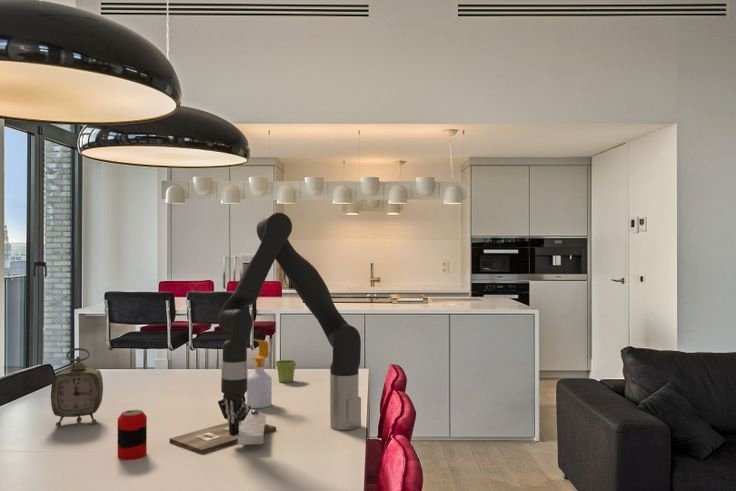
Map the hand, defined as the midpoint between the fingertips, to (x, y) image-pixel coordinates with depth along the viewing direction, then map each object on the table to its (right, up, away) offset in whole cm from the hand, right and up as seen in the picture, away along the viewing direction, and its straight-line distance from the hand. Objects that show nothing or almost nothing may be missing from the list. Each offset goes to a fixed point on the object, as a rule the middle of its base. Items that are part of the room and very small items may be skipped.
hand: (233, 434), depth 175 cm
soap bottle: (-1, -4, +45) cm, 45 cm away
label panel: (-5, -3, +9) cm, 10 cm away
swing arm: (+4, -1, +7) cm, 8 cm away
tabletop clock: (-57, -4, +22) cm, 61 cm away
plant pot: (+4, -4, +85) cm, 86 cm away
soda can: (-26, -3, -9) cm, 28 cm away
